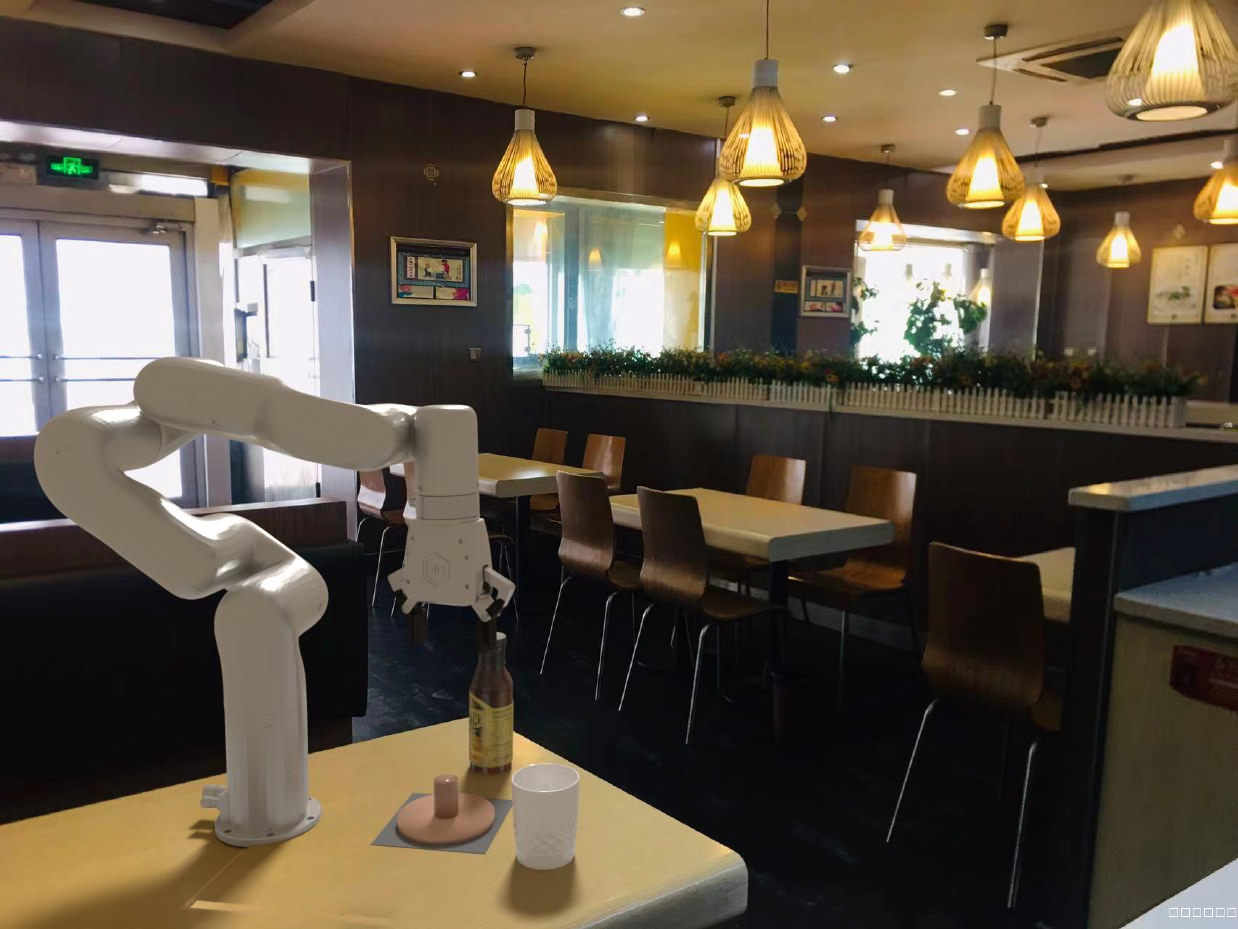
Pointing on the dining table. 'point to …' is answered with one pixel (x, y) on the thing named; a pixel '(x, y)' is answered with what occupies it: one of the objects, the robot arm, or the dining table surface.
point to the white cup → (545, 814)
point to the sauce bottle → (491, 713)
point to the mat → (476, 845)
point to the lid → (445, 815)
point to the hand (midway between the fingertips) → (451, 646)
